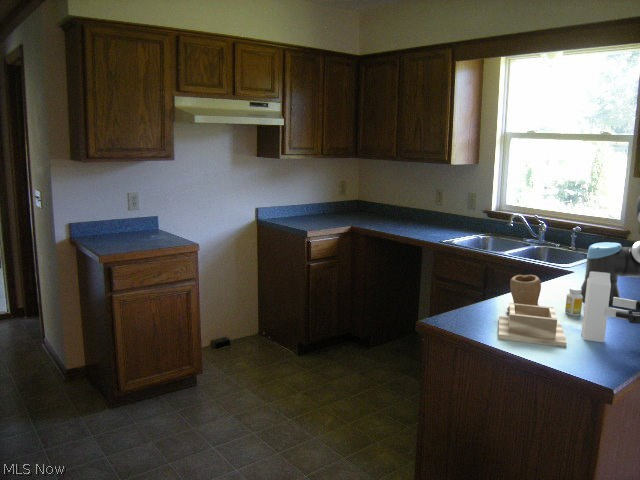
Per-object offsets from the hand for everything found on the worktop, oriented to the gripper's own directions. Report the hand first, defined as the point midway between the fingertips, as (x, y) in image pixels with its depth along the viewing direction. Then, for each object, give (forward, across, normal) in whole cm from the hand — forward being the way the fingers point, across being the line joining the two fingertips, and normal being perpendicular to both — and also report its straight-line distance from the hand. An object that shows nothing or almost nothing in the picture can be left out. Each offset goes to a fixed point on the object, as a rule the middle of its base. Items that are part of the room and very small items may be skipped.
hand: (608, 305), depth 171 cm
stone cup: (+27, +10, -12) cm, 32 cm away
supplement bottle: (+15, +24, -12) cm, 31 cm away
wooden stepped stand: (+21, -8, -12) cm, 25 cm away
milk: (+4, +1, -12) cm, 13 cm away
